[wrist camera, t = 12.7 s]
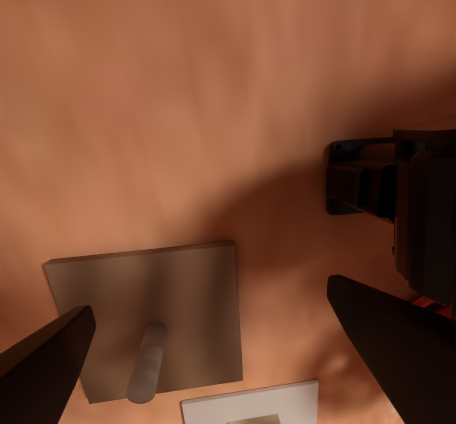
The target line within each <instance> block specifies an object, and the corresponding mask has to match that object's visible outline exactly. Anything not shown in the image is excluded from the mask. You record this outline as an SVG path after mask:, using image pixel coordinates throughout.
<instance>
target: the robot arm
mask: <svg viewBox="0 0 456 424" xmlns="http://www.w3.org/2000/svg"><path fill="white" fill-rule="evenodd" d="M336 145H338V149H337V150H336V149H335V146H336ZM326 195H327V205H326V211H327V213H328V214H330V215H343V214H353V213H367V214H369V215H371V216H374V217H376V218H379V219H381V220H384V221H386V222H388V223H391V224H393V225H394V247H393V248H392V254H393V256H394V261H395V265H396V269H397V271H398V272H399V273H400V274H401V275H402V276H403V277H404V278H405V279H406V280H407V281H408V286H409V287H410V288H411V289H412V290H414V291H416V292H417V293H419V294H421V295H422V296H424V297H426V298H428V299H430V300H432V301H435V302H437V303H439V304H441V305H444V306H447V307H450V316H451V317H453V318H455V319H456V116H451V117H447V118H442V119H438V120H433V121H429V122H424V123H420V124H416V125H411V126H407V127H402V128H398V129H394V130H393V137H387V138H373V139H359V140H344V141H334V142H333V143H332V144H331V145H330V155H329V166H328V167H327V180H326ZM332 208H334V210H333V211H332V212H331V209H332ZM327 298H328V300H329V302H330V304H331V306H332V308H333V310H334V312H335V314H336V316H337V318H338V319H339V321H340V323H341V325H342V327H343V329H344V331H345V333H346V334H347V336H348V338H349V339H350V341H351V342H352V344H353V345H354V347H355V349H356V350H357V352H358V353H359V355H360V356H361V358H362V359H363V361H364V362H365V364H366V365H367V367H368V368H369V370H370V371H371V373H372V374H373V376H374V377H375V379H376V380H377V382H378V383H379V385H380V386H381V388H382V389H383V391H384V393H385V394H386V396H387V397H388V399H389V400H390V402H391V403H392V405H393V406H394V408H395V409H396V411H397V412H398V414H399V415H400V417H401V418H402V420H403V421H404V423H405V424H456V320H454V319H451V318H447V317H446V316H443V315H441V314H438V313H436V312H433V311H431V310H428V309H425V308H423V307H420V306H418V305H415V304H413V303H410V302H408V301H405V300H403V299H400V298H398V297H395V296H392V295H390V294H387V293H385V292H382V291H380V290H377V289H375V288H372V287H370V286H367V285H365V284H362V283H359V282H357V281H354V280H352V279H349V278H347V277H344V276H342V275H332V276H329V277H328V284H327ZM95 330H96V321H95V317H94V314H93V310H92V307H91V306H90V305H80V306H76V307H75V308H73V309H71V310H70V311H68V312H67V313H65V314H63V315H62V316H60V317H59V318H57V319H55V320H54V321H52V322H51V323H49V324H47V325H46V326H44V327H42V328H41V329H39V330H38V331H36V332H34V333H33V334H31V335H30V336H28V337H26V338H25V339H23V340H22V341H20V342H18V343H17V344H15V345H14V346H12V347H10V348H9V349H7V350H6V351H4V352H2V353H1V354H0V424H58V422H59V420H60V418H61V416H62V413H63V411H64V409H65V407H66V405H67V402H68V400H69V398H70V396H71V394H72V391H73V389H74V387H75V385H76V383H77V380H78V378H79V376H80V373H81V370H82V368H83V365H84V362H85V359H86V356H87V353H88V351H89V348H90V345H91V342H92V339H93V336H94V333H95Z"/></svg>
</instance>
